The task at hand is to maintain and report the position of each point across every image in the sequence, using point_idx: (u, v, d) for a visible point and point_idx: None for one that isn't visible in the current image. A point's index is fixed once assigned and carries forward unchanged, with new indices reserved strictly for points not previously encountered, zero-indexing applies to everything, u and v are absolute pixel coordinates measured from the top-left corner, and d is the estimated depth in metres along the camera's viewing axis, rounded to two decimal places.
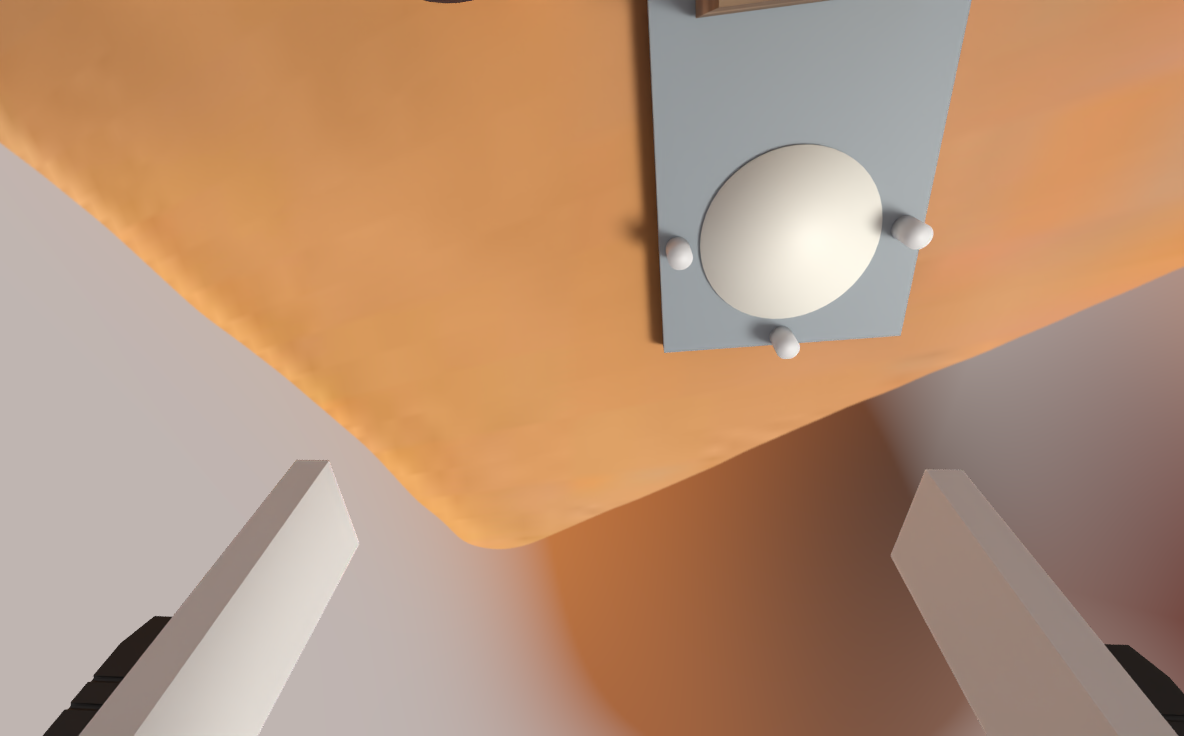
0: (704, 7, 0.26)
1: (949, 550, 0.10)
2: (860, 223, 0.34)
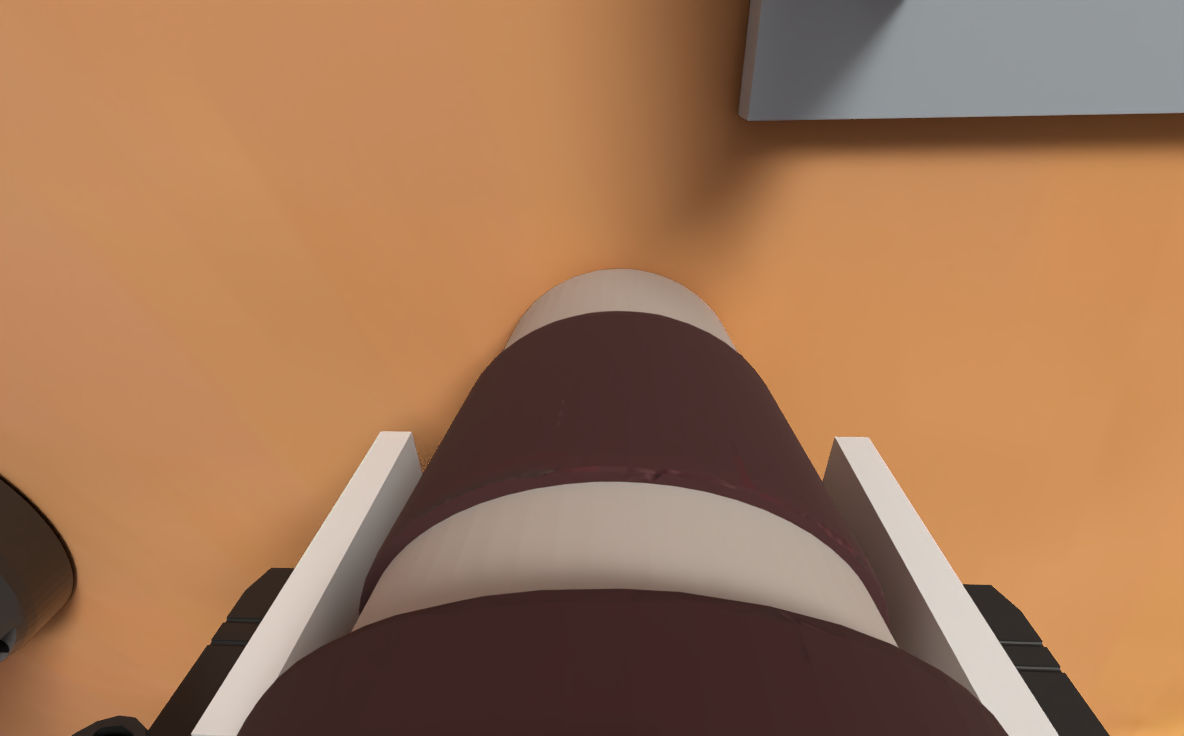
0: None
1: (850, 508, 0.11)
2: None
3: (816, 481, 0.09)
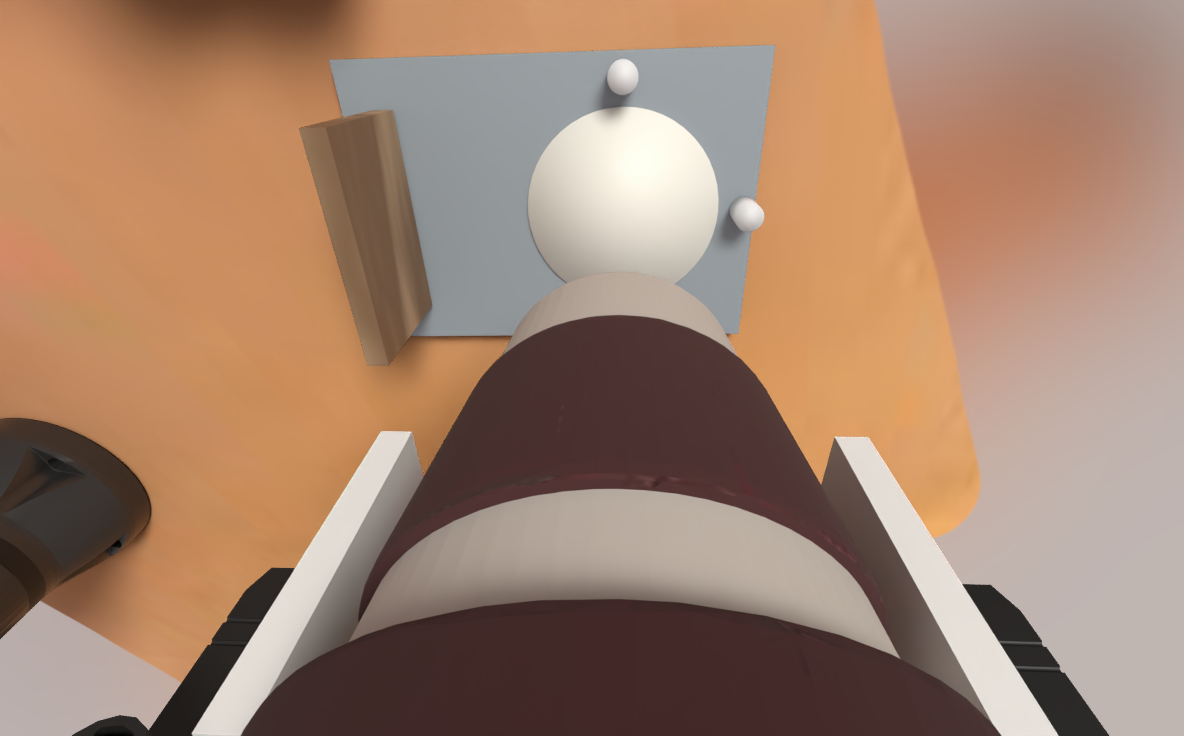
0: None
1: (849, 508, 0.11)
2: (610, 134, 0.30)
3: (816, 487, 0.09)
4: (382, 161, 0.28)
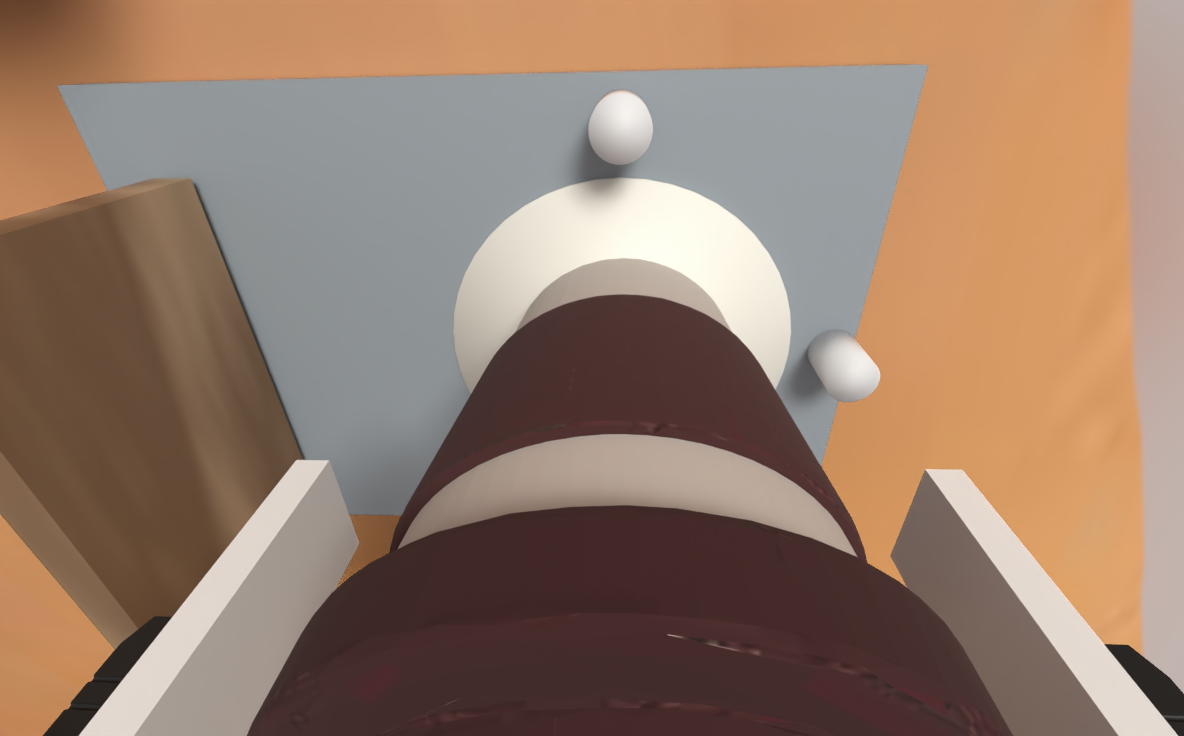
0: None
1: (949, 550, 0.10)
2: (598, 226, 0.16)
3: (802, 442, 0.09)
4: (150, 285, 0.14)
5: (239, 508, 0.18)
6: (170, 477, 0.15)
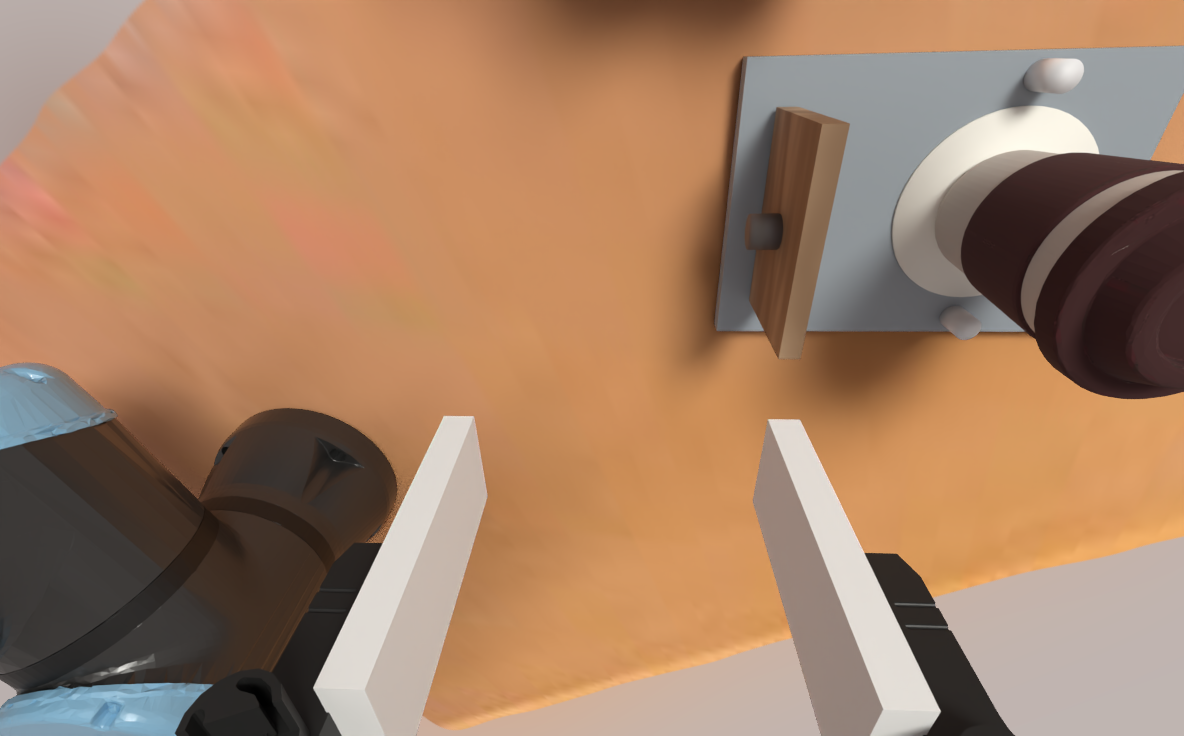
0: None
1: (777, 486, 0.12)
2: (1009, 133, 0.30)
3: None
4: None
5: None
6: None
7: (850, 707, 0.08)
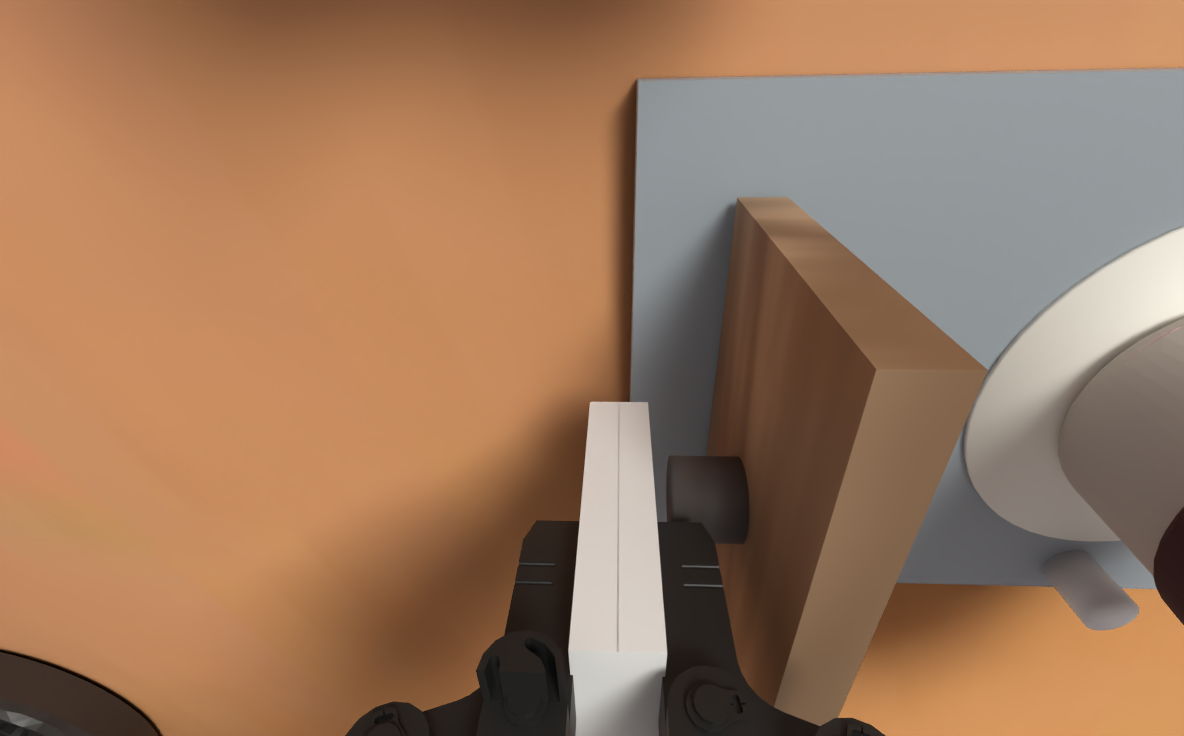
0: None
1: None
2: None
3: None
4: None
5: None
6: None
7: None
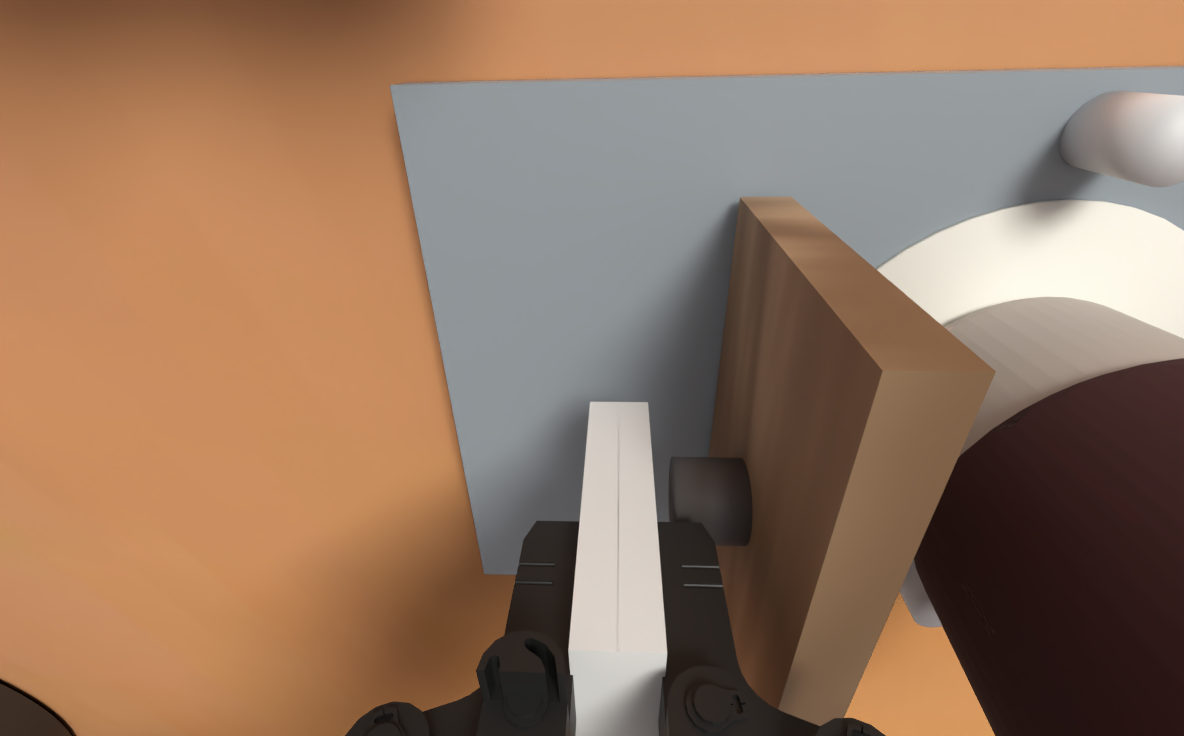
0: None
1: None
2: (1023, 258, 0.13)
3: None
4: None
5: None
6: None
7: None
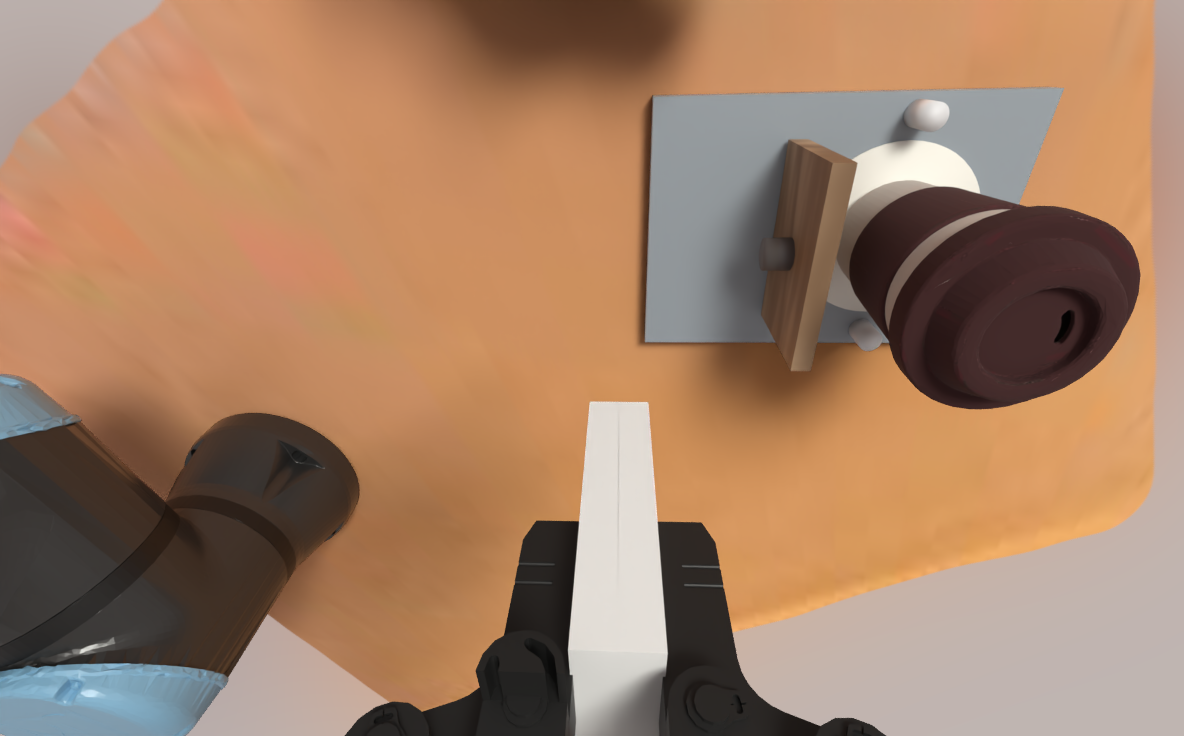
0: None
1: None
2: (894, 164, 0.33)
3: None
4: None
5: None
6: None
7: None
